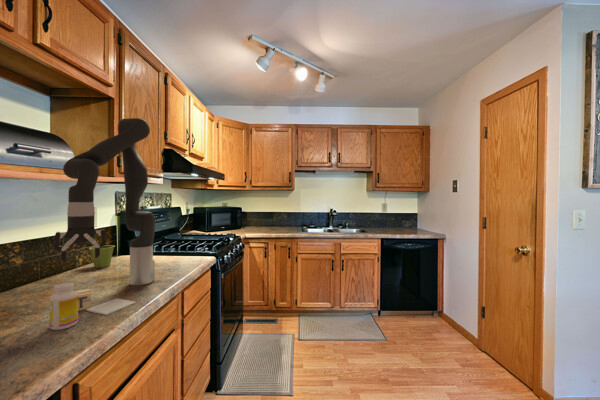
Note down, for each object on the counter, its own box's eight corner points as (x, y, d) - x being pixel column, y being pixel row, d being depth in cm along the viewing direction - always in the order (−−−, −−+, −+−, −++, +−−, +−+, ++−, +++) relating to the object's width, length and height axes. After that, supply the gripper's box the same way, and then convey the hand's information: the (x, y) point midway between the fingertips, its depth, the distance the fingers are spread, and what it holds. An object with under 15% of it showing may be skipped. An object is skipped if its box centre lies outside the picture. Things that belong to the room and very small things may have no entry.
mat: (116, 299, 104) (116, 298, 104) (135, 303, 101) (135, 301, 101) (86, 310, 94) (86, 309, 94) (106, 315, 90) (106, 313, 90)
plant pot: (120, 264, 157) (120, 245, 157) (103, 269, 145) (103, 249, 145) (101, 263, 158) (101, 244, 158) (83, 269, 146) (83, 248, 146)
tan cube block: (71, 307, 97) (71, 292, 97) (90, 303, 100) (90, 289, 100) (70, 312, 93) (70, 296, 92) (90, 308, 96) (90, 293, 96)
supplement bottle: (83, 320, 87) (83, 281, 86) (66, 330, 80) (66, 288, 80) (62, 320, 86) (62, 281, 86) (43, 331, 80) (43, 288, 80)
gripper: (105, 213, 104) (104, 255, 104) (55, 214, 95) (55, 260, 95) (106, 214, 98) (106, 258, 98) (53, 216, 89) (53, 264, 89)
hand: (81, 259), depth 96 cm, fingers open, 8 cm apart
